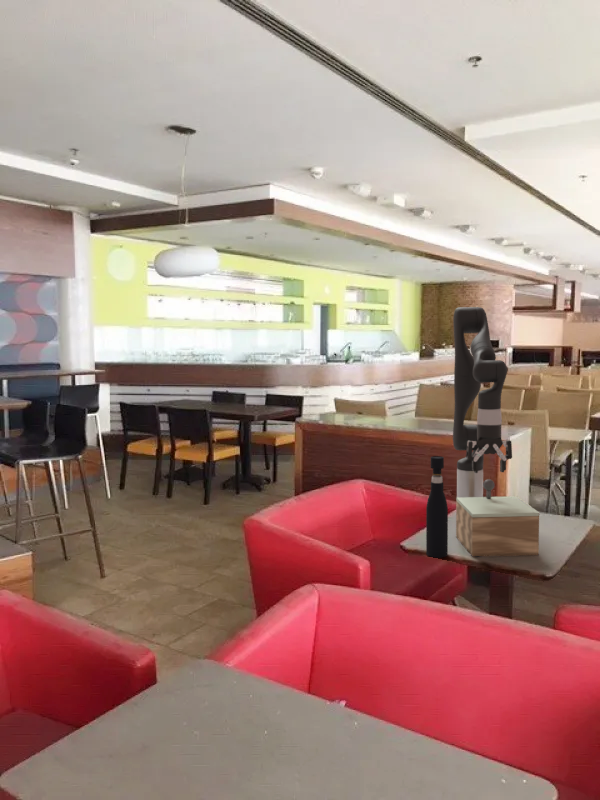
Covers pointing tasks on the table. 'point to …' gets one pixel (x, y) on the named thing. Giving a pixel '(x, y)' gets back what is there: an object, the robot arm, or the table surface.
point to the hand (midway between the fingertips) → (488, 472)
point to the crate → (497, 534)
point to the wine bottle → (437, 513)
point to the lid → (496, 505)
